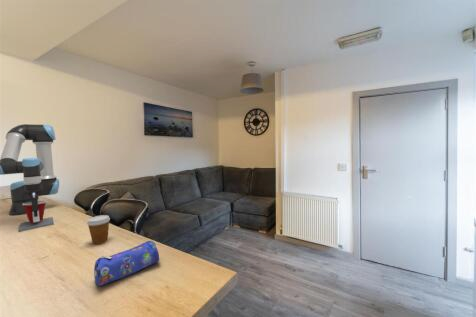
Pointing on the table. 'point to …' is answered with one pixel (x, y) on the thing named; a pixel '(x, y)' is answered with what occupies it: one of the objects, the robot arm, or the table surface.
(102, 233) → the disposable coffee cup
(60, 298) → the table surface
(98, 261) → the pencil case
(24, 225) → the slate tile
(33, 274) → the table surface
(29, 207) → the plastic cup
